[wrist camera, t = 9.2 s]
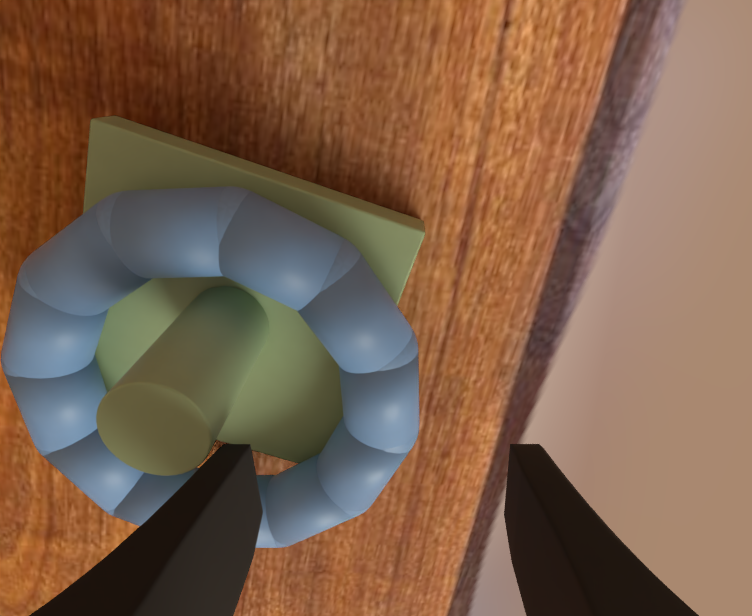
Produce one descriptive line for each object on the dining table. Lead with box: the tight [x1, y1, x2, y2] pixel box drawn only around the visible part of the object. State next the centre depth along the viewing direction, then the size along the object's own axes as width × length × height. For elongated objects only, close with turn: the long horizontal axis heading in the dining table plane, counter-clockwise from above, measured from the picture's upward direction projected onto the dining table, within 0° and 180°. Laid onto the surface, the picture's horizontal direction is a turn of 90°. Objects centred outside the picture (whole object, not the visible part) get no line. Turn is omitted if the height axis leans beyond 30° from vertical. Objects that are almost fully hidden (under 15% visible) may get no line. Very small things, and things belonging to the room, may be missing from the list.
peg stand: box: [83, 115, 425, 476], centre depth 13 cm, size 9×9×6 cm
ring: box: [1, 186, 419, 548], centre depth 15 cm, size 12×12×2 cm
